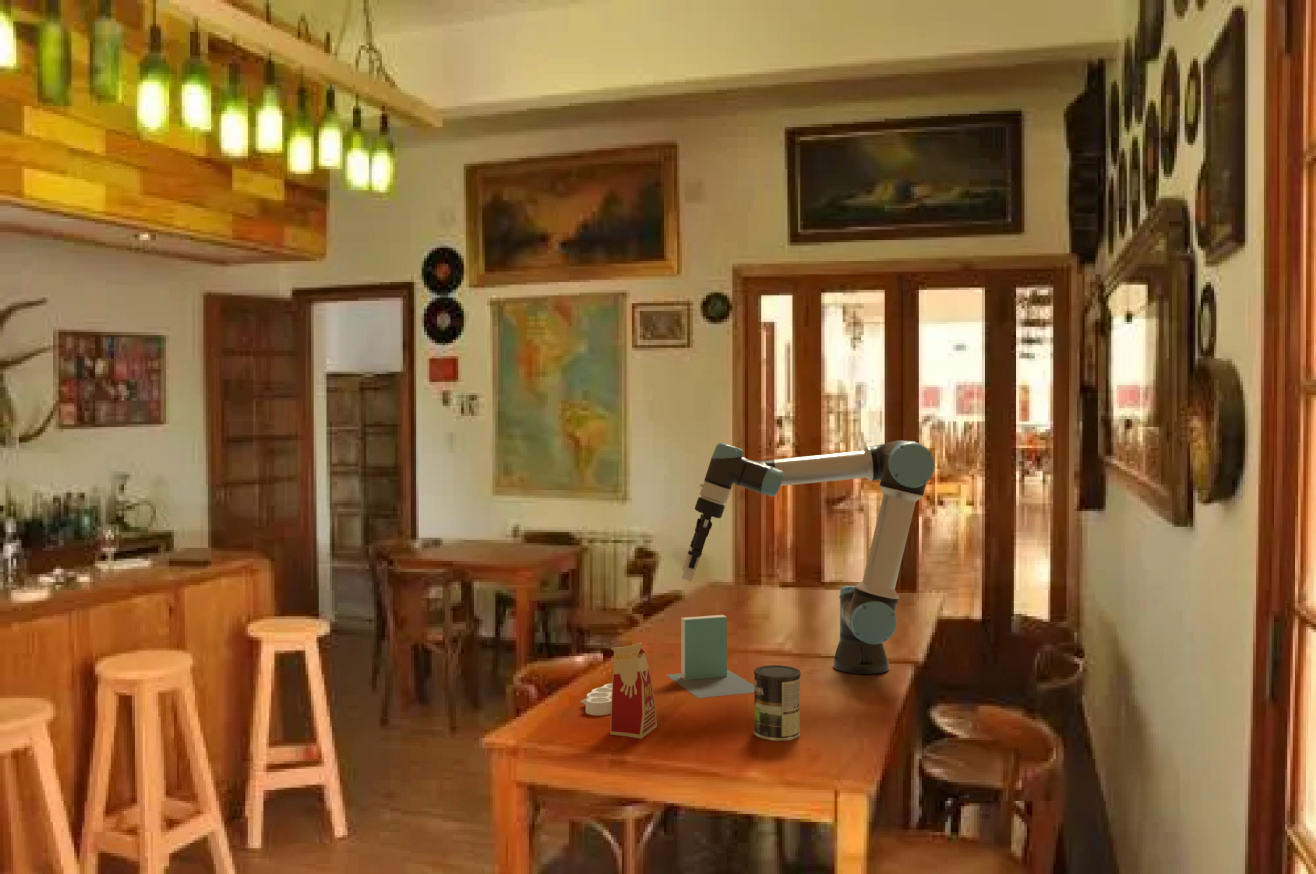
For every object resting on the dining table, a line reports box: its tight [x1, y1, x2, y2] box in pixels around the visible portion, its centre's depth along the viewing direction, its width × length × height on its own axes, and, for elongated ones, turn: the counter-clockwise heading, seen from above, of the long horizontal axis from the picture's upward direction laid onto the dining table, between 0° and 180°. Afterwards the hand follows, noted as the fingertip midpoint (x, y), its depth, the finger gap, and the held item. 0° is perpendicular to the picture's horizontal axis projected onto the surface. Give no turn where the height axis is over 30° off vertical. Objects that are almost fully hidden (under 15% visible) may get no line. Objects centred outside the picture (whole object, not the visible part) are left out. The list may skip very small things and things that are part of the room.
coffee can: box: [753, 664, 802, 742], centre depth 226 cm, size 10×10×14 cm
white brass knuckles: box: [580, 683, 612, 716], centre depth 249 cm, size 3×18×15 cm
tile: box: [680, 614, 728, 680], centre depth 274 cm, size 3×12×16 cm, turn 109°
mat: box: [666, 668, 755, 699], centre depth 268 cm, size 24×18×1 cm
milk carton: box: [609, 642, 658, 739], centre depth 229 cm, size 9×9×20 cm
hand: (686, 575), depth 272 cm, fingers open, 13 cm apart
